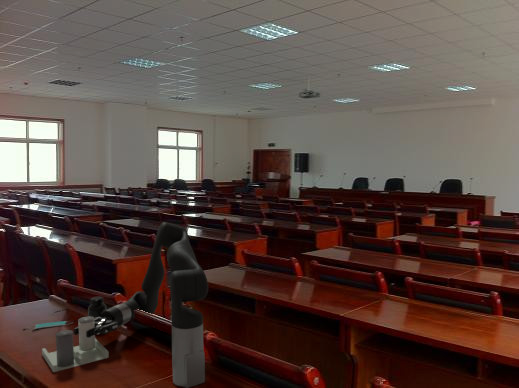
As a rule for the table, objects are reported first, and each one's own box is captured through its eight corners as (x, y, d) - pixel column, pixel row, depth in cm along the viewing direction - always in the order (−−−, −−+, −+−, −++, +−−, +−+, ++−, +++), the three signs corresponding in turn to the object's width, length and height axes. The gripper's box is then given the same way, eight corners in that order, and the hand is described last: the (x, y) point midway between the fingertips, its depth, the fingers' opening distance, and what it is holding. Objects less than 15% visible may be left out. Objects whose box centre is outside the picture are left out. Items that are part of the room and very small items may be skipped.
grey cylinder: (75, 364, 144) (74, 333, 144) (59, 368, 141) (57, 337, 141) (71, 358, 148) (70, 329, 148) (55, 362, 145) (54, 332, 145)
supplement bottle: (101, 323, 183) (100, 294, 182) (110, 327, 179) (109, 297, 178) (85, 328, 178) (84, 298, 177) (94, 332, 174) (93, 301, 173)
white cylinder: (97, 348, 152) (96, 319, 152) (81, 352, 149) (80, 322, 149) (92, 343, 156) (91, 315, 155) (77, 347, 153) (76, 318, 153)
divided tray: (108, 360, 149) (108, 351, 149) (53, 375, 139) (53, 365, 139) (93, 344, 162) (93, 336, 162) (42, 357, 152) (41, 348, 152)
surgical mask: (71, 307, 192) (81, 312, 185) (71, 317, 192) (82, 322, 185) (19, 320, 177) (28, 325, 170) (19, 330, 177) (29, 337, 170)
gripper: (100, 304, 168) (63, 319, 152) (131, 309, 162) (97, 325, 147) (100, 324, 169) (64, 341, 153) (131, 329, 163) (98, 347, 147)
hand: (80, 333), depth 150 cm, fingers closed on white cylinder, 5 cm apart
